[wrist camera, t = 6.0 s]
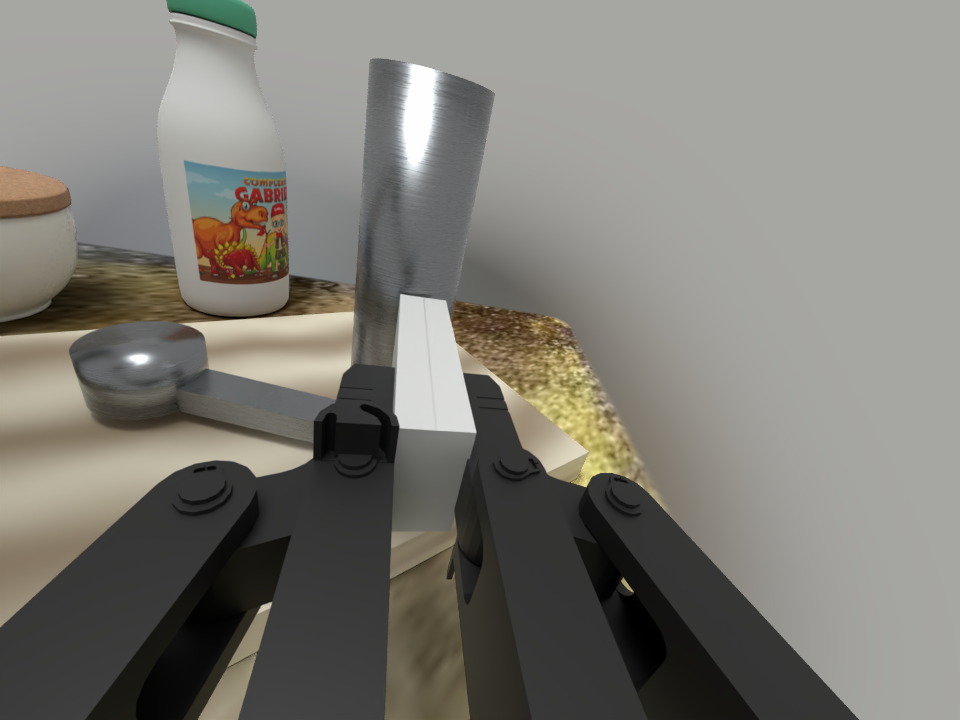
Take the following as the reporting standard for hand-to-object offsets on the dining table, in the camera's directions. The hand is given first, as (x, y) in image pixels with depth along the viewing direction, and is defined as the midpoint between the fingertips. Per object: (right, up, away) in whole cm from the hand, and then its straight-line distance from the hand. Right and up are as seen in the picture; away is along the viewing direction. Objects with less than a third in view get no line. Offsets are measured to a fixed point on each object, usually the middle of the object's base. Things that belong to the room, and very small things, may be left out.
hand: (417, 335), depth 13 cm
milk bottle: (-18, +4, +20) cm, 27 cm away
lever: (-7, -4, +5) cm, 9 cm away
